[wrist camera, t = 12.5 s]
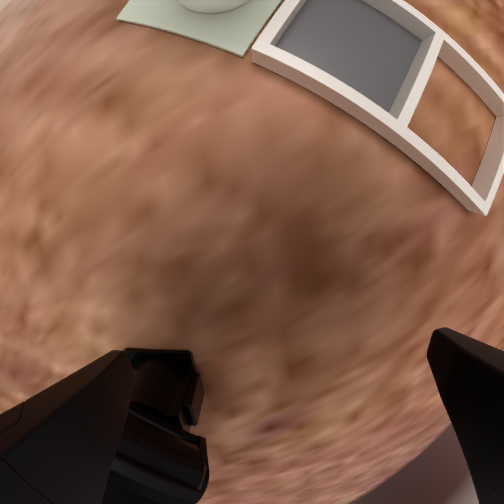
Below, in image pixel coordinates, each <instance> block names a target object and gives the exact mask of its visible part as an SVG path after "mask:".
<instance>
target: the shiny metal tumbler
mask: <svg viewBox="0 0 504 504" xmlns="http://www.w3.org/2000/svg"><path fill="white" fill-rule="evenodd" d="M178 1H179V2H180V4H182V5H183V6H184V7H185V8H187V9H189V10H191V11H194V12H199V13H208V14H212V13H221V12H226V11H230V10H233V9H235V8H238V7H240V6H242V5H243V4H245V3H246V2H248V1H249V0H178Z"/></svg>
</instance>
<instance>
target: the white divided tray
mask: <svg viewBox="0 0 504 504" xmlns="http://www.w3.org/2000/svg"><path fill="white" fill-rule="evenodd" d="M282 1H283V0H249V1H248V2H246V3H245V4H243V5H242V6H240V7H238V8H235V9H233V10H230V11H226V12H221V13H212V14H208V13H199V12H194V11H191V10H189V9H187V8H185V7H184V6H183V5H182V4H180V2H179V1H178V0H129V2H128V3H127V4H126V6H125V7H124V9H123V10H122V11H121V13H120V14H119V16H118V17H117V18H116V19H117V20H118V21H123V22H128V23H133V24H138V25H142V26H146V27H151V28H155V29H159V30H162V31H166V32H170V33H173V34H177V35H180V36H183V37H187V38H190V39H193V40H196V41H199V42H202V43H205V44H208V45H210V46H213V47H216V48H219V49H221V50H224V51H227V52H229V53H232V54H234V55H237V56H239V57H242V58H243V57H244V55H245V54H246V52H247V50H248V49H249V47H250V46H251V44H252V43H253V41H254V40H255V38H256V37H257V35H258V34H259V33H260V31H261V30H262V28H263V27H264V25H265V24H266V23H267V21H268V20H269V18H270V17H271V16H272V14H273V13H274V11H275V10H276V9H277V7H278V6H279V5H280V3H281V2H282ZM251 52H252V62H253V63H256V64H258V65H260V66H262V67H264V68H267V69H269V70H271V71H273V72H275V73H277V74H279V75H281V76H283V77H285V78H287V79H289V80H291V81H293V82H295V83H297V84H299V85H301V86H303V87H304V88H306V89H308V90H310V91H312V92H313V93H315V94H317V95H319V96H321V97H322V98H324V99H326V100H327V101H329V102H331V103H332V104H334V105H336V106H337V107H339V108H341V109H342V110H344V111H345V112H347V113H349V114H350V115H352V116H353V117H355V118H356V119H358V120H359V121H361V122H362V123H364V124H365V125H367V126H368V127H370V128H371V129H372V130H374V131H375V132H377V133H378V134H380V135H381V136H382V137H384V138H385V139H386V140H388V141H389V142H390V143H392V144H393V145H394V146H396V147H397V148H398V149H400V150H401V151H402V152H403V153H405V154H406V155H407V156H409V157H410V158H411V159H412V160H413V161H415V162H416V163H417V164H418V165H420V166H421V167H422V168H423V169H424V170H425V171H427V172H428V173H429V174H430V175H431V176H432V177H433V178H435V179H436V180H437V181H438V182H439V183H440V184H441V185H442V186H443V187H445V188H446V189H447V190H448V191H449V192H450V193H451V194H452V195H453V196H454V197H455V198H456V199H457V200H458V201H459V202H460V203H461V204H462V205H463V206H464V207H465V208H466V209H467V210H469V211H472V212H475V213H478V214H481V215H484V216H487V213H488V211H489V209H490V206H491V204H492V202H493V199H494V197H495V194H496V192H497V189H498V187H499V184H500V181H501V179H502V176H503V173H504V94H503V92H502V91H501V90H500V89H499V87H498V86H497V85H496V84H495V83H494V82H493V80H492V79H491V78H490V77H489V76H488V75H487V74H486V72H485V71H484V70H483V69H482V68H481V67H480V66H479V65H478V64H477V63H476V62H475V61H474V60H473V59H472V58H471V57H470V56H469V55H468V54H467V53H466V52H465V51H464V50H463V49H462V48H461V47H460V46H459V45H458V44H457V43H456V42H455V41H454V40H453V39H452V38H450V37H449V36H448V35H447V34H446V33H445V32H444V31H442V30H441V29H440V28H439V27H438V26H436V25H435V24H434V23H433V22H432V21H430V20H429V19H428V18H426V17H425V16H424V15H423V14H421V13H420V12H419V11H417V10H416V9H415V8H413V7H412V6H410V5H409V4H408V3H406V2H405V1H403V0H285V1H284V3H283V4H282V5H281V7H280V8H279V9H278V11H277V12H276V13H275V15H274V16H273V18H272V19H271V20H270V22H269V23H268V25H267V26H266V27H265V29H264V30H263V32H262V33H261V35H260V36H259V38H258V39H257V41H256V42H255V44H254V45H253V47H252V48H251ZM437 56H438V57H439V58H440V59H441V60H442V61H443V62H444V63H446V64H447V65H448V66H449V67H450V68H451V69H452V70H453V71H454V72H455V73H456V74H457V75H458V76H459V77H460V78H461V79H462V80H463V81H464V82H465V83H466V84H467V85H468V86H469V87H470V88H471V89H472V90H473V91H474V92H475V93H476V94H477V95H478V96H479V97H480V99H481V100H482V101H483V102H484V103H485V104H486V105H487V107H488V108H489V109H490V110H491V111H492V112H493V114H494V115H495V116H496V119H495V123H494V126H493V129H492V133H491V136H490V139H489V142H488V145H487V147H486V150H485V153H484V156H483V158H482V161H481V164H480V166H479V169H478V171H477V174H476V176H475V179H474V181H473V184H472V186H470V185H469V184H468V183H467V182H466V180H465V179H464V178H463V177H462V176H461V175H460V174H459V173H458V172H457V171H456V170H455V169H454V168H453V167H452V166H451V165H450V164H448V163H447V162H446V161H445V160H444V159H443V158H442V157H441V156H440V155H439V154H438V153H437V152H436V151H434V150H433V149H432V148H431V147H430V146H429V145H428V144H427V143H425V142H424V141H423V140H422V139H421V138H420V137H418V136H417V135H416V134H415V133H414V132H412V131H411V130H410V129H409V128H407V126H408V124H409V122H410V119H411V117H412V115H413V113H414V111H415V109H416V106H417V104H418V102H419V100H420V97H421V95H422V93H423V91H424V88H425V86H426V84H427V81H428V79H429V76H430V74H431V71H432V69H433V67H434V64H435V62H436V59H437Z"/></svg>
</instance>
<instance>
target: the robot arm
mask: <svg viewBox="0 0 504 504" xmlns="http://www.w3.org/2000/svg"><path fill="white" fill-rule="evenodd" d="M128 354H129V355H128ZM184 356H187V357H188V358H185V357H184ZM427 359H428V362H429V365H430V368H431V370H432V373H433V376H434V379H435V382H436V385H437V388H438V391H439V394H440V397H441V399H442V402H443V404H444V406H445V409H446V411H447V413H448V416H449V418H450V420H451V423H452V425H453V427H454V430H455V432H456V435H457V438H458V440H459V443H460V446H461V448H462V451H463V453H464V456H465V459H466V462H467V465H468V468H469V471H470V474H471V477H472V480H473V483H474V487H475V490H476V494H477V497H478V500H479V501H480V502H479V504H504V351H502V350H499V349H497V348H495V347H492V346H490V345H487V344H485V343H483V342H480V341H478V340H475V339H473V338H471V337H468V336H466V335H463V334H461V333H459V332H456V331H454V330H451V329H449V328H446V327H444V328H439V329H436V330H434V331H433V333H432V336H431V340H430V343H429V347H428V350H427ZM203 396H204V391H203V387H202V383H201V379H200V374H199V373H198V372H196V371H195V366H194V362H193V358H192V354H191V353H190V352H188V351H168V350H144V349H124V350H123V351H119V350H112V351H110V352H109V353H107V354H105V355H104V356H102V357H100V358H99V359H97V360H95V361H93V362H92V363H90V364H88V365H87V366H85V367H83V368H81V369H80V370H78V371H76V372H74V373H73V374H71V375H69V376H68V377H66V378H64V379H62V380H61V381H59V382H57V383H55V384H54V385H52V386H50V387H48V388H47V389H45V390H43V391H41V392H40V393H38V394H36V395H34V396H33V397H31V398H29V399H27V400H26V401H25V402H22V403H20V404H18V405H17V406H15V407H13V408H11V409H9V410H7V411H5V412H4V413H2V414H0V504H196V503H197V502H198V501H199V500H200V499H201V497H202V496H203V494H204V492H205V490H206V488H207V485H208V481H209V466H208V457H207V447H206V438H203V437H201V436H196V435H194V434H192V433H189V432H190V428H191V426H196V425H197V424H198V420H199V415H200V410H201V405H202V402H203Z"/></svg>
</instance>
